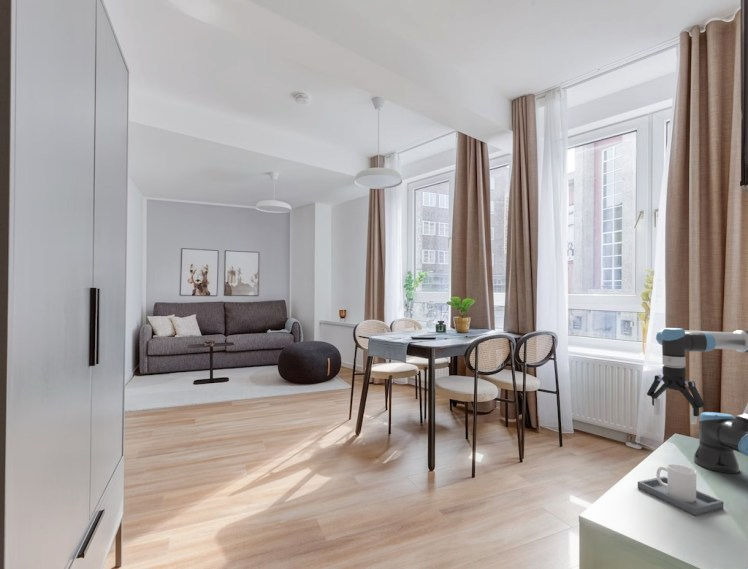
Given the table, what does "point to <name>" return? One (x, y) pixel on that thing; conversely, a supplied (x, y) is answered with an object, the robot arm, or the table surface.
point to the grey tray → (696, 508)
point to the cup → (680, 482)
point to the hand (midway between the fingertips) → (674, 418)
